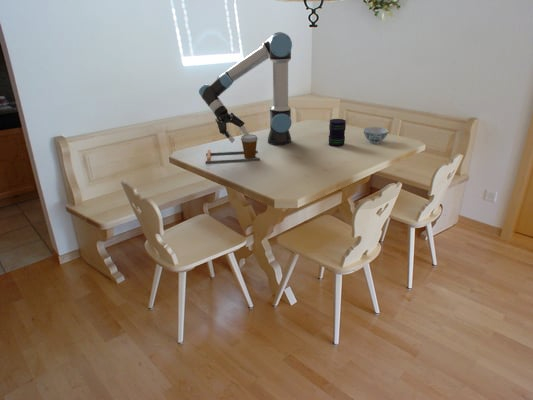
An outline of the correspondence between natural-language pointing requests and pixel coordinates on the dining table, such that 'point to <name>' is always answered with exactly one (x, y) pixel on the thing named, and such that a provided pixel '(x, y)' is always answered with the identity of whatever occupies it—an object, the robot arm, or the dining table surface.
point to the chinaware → (375, 134)
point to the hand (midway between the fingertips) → (240, 138)
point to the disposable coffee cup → (249, 145)
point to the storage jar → (337, 132)
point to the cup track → (228, 160)
